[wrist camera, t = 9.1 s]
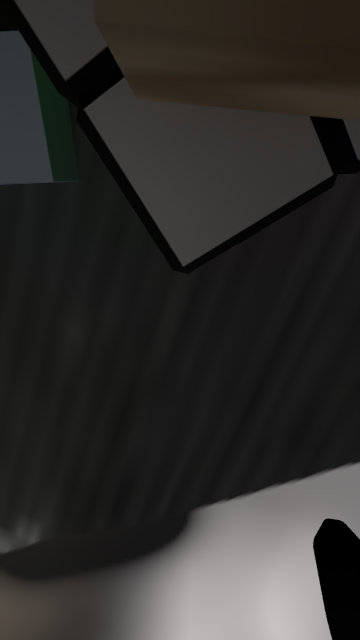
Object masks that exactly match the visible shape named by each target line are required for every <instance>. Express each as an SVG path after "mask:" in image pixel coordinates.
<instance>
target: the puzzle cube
mask: <svg viewBox="0 0 360 640" xmlns="http://www.w3.org/2000/svg"><path fill="white" fill-rule="evenodd" d="M0 3H1V4H2V6H3V7H4V9H5V11H6V12H7V14H8V15H9V17H10V18H11V20H12V21H13V23H14V25H15V26H16V28H17V29H18V31H19V32H20V34H21V35H22V37H23V39H24V40H25V42H26V43H27V45H28V46H29V48H30V49H31V51H32V52H33V54H34V56H35V57H36V59H37V60H38V62H39V63H40V65H41V66H42V68H43V70H44V71H45V73H46V74H47V76H48V77H49V79H50V80H51V82H52V83H53V85H54V87H55V88H56V90H57V91H58V93H59V94H60V95H62V96H63V97H64V98H66V99H67V100H69V101H70V102H71V103H73V104H74V105H76V106H77V107H78V111H77V122H78V123H79V125H80V127H81V128H82V130H83V131H84V133H85V134H86V136H87V137H88V139H89V141H90V142H91V144H92V145H93V147H94V148H95V150H96V151H97V153H98V154H99V156H100V158H101V159H102V161H103V162H104V164H105V165H106V167H107V168H108V170H109V172H110V173H111V175H112V176H113V178H114V179H115V181H116V182H117V184H118V186H119V187H120V189H121V190H122V192H123V193H124V195H125V196H126V198H127V199H128V201H129V203H130V204H131V206H132V207H133V209H134V210H135V212H136V213H137V215H138V217H139V218H140V220H141V221H142V223H143V224H144V226H145V227H146V229H147V230H148V232H149V234H150V235H151V237H152V238H153V240H154V241H155V243H156V244H157V246H158V248H159V249H160V251H161V252H162V254H163V255H164V257H165V258H166V260H167V262H168V263H169V265H170V266H171V268H172V269H173V271H178V272H182V273H187V274H189V273H191V272H193V271H194V270H196V269H198V268H199V267H201V266H203V265H204V264H206V263H208V262H209V261H211V260H213V259H214V258H216V257H217V256H219V255H221V254H222V253H224V252H226V251H227V250H229V249H231V248H232V247H234V246H236V245H237V244H239V243H241V242H242V241H244V240H246V239H247V238H249V237H251V236H252V235H254V234H256V233H257V232H259V231H261V230H262V229H264V228H265V227H267V226H269V225H270V224H272V223H274V222H275V221H277V220H279V219H280V218H282V217H284V216H285V215H287V214H289V213H290V212H292V211H294V210H295V209H297V208H299V207H300V206H302V205H304V204H305V203H307V202H308V201H310V200H312V199H313V198H315V197H317V196H318V195H320V194H322V193H323V192H325V191H327V190H328V189H330V188H332V187H333V185H334V183H335V180H336V177H337V175H338V174H356V173H358V172H360V118H357V119H354V120H348V119H337V118H327V117H316V116H306V115H295V114H285V113H274V112H264V111H253V110H243V109H232V108H222V107H212V106H201V105H191V104H180V103H170V102H159V101H149V100H138V99H136V97H135V95H134V93H133V92H132V90H131V88H130V86H129V84H128V82H127V80H126V79H125V77H124V75H123V73H122V71H121V69H120V68H119V66H118V64H117V62H116V60H115V58H114V56H113V55H112V53H111V51H110V49H109V47H108V45H107V44H106V42H105V40H104V38H103V36H102V34H101V33H100V31H99V29H98V27H97V25H96V23H95V21H94V0H0Z"/></svg>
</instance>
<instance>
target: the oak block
mask: <svg viewBox="0 0 360 640" xmlns="http://www.w3.org/2000/svg"><path fill="white" fill-rule="evenodd" d="M94 21H95V23H96V25H97V27H98V29H99V31H100V33H101V34H102V36H103V38H104V40H105V42H106V44H107V45H108V47H109V49H110V51H111V53H112V55H113V56H114V58H115V60H116V62H117V64H118V66H119V68H120V69H121V71H122V73H123V75H124V77H125V79H126V80H127V82H128V84H129V86H130V88H131V90H132V92H133V93H134V95H135V97H136V99H138V100H149V101H159V102H170V103H180V104H191V105H201V106H212V107H222V108H232V109H243V110H253V111H264V112H274V113H285V114H295V115H306V116H316V117H327V118H337V119H348V120H354V119H357V118H360V0H94Z"/></svg>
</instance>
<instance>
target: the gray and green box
mask: <svg viewBox="0 0 360 640" xmlns="http://www.w3.org/2000/svg"><path fill="white" fill-rule="evenodd" d="M72 181H79V174H78V167H77V160H76V154H75V147H74V140H73V133H72V126H71V120H70V113H69V106H68V100H67V99H66V98H64V97H63V96H62V95H60V94H59V93H58V91H57V90H56V88H55V87H54V85H53V83H52V82H51V80H50V79H49V77H48V76H47V74H46V73H45V71H44V70H43V68H42V66H41V65H40V63H39V62H38V60H37V59H36V57H35V56H34V54H33V52H32V51H31V49H30V48H29V46H28V45H27V43H26V42H25V40H24V39H23V37H22V35H21V34H20V32H19V31H3V32H0V185H4V184H26V183H49V182H72Z"/></svg>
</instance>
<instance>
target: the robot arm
mask: <svg viewBox="0 0 360 640" xmlns="http://www.w3.org/2000/svg"><path fill="white" fill-rule="evenodd" d="M313 548H314V554H315V560H316V565H317V570H318V576H319V581H320V586H321V591H322V596H323V602H324V607H325V612H326V617H327V621H328V625H329V629H330V633H331V636H332V640H360V539H359V538H358V537H357V536H356V535H355V534H354V533H353V532H352V530H351V529H350V528H349V527H348V526H347V525H346V524H345V523H344V522H342V521H340V520H334V519H325V520H324V521H323V523H322V525H321V527H320V529H319V530H318V532H317V534H316V536H315V537H314V541H313Z"/></svg>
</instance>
